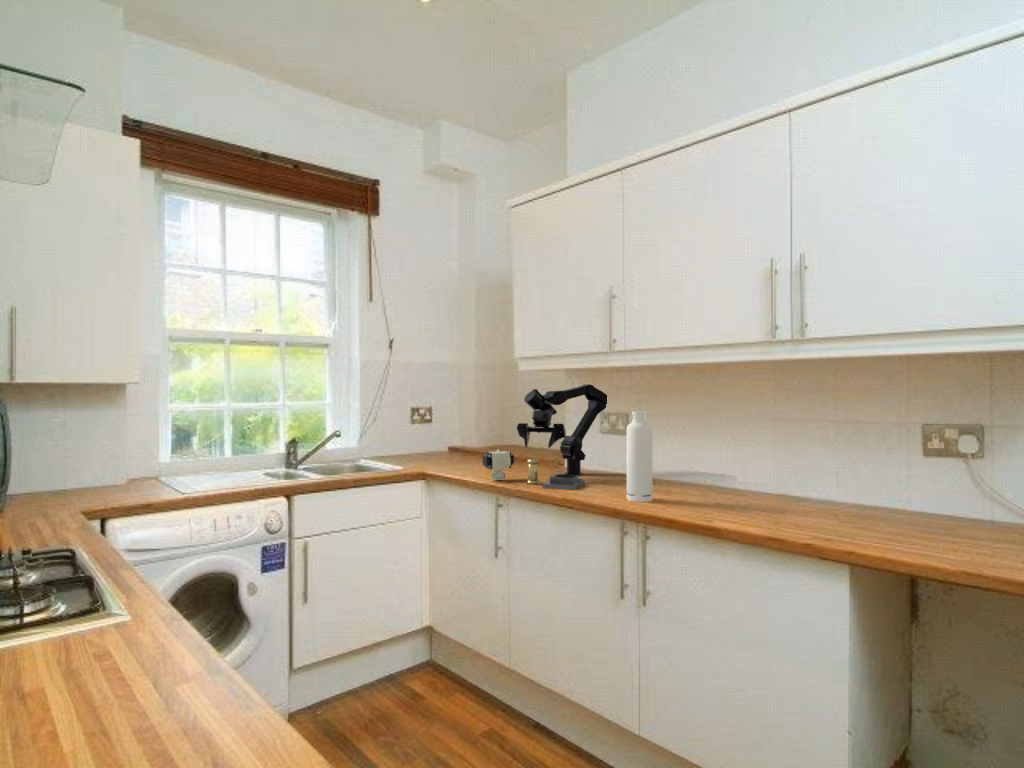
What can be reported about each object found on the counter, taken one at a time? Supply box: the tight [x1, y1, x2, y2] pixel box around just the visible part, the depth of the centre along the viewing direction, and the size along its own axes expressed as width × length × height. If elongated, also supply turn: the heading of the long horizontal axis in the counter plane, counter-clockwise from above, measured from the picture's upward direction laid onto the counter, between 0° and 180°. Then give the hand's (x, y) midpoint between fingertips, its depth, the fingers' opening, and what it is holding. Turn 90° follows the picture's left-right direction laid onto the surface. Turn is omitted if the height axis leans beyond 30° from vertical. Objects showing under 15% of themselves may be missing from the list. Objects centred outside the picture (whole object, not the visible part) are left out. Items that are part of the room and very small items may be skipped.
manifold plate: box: [542, 473, 586, 490], centre depth 210 cm, size 16×12×4 cm
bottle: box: [626, 411, 653, 503], centre depth 183 cm, size 8×8×28 cm
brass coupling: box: [527, 458, 540, 485], centre depth 214 cm, size 4×4×9 cm
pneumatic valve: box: [482, 449, 515, 481], centre depth 222 cm, size 6×12×12 cm, turn 116°
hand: (537, 446), depth 219 cm, fingers open, 9 cm apart
